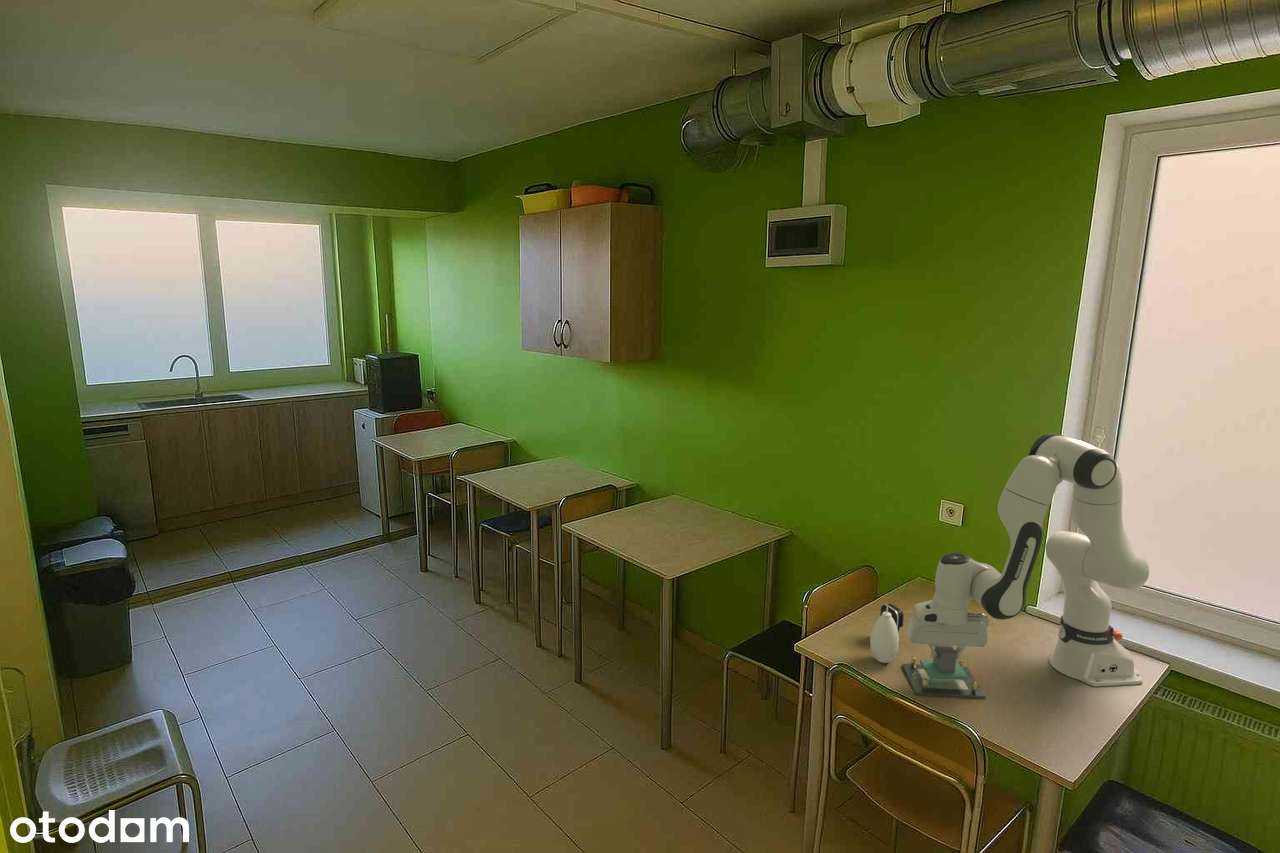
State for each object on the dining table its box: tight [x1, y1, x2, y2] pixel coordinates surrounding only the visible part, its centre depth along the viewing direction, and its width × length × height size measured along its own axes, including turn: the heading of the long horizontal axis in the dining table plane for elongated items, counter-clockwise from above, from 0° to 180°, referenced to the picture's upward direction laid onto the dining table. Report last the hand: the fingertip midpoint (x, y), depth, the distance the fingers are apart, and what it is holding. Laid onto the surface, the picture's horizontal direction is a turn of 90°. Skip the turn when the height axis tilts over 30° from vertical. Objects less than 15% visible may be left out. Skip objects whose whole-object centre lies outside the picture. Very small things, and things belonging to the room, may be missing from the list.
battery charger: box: [879, 603, 904, 633], centre depth 214 cm, size 7×4×11 cm, turn 21°
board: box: [919, 645, 968, 680], centre depth 192 cm, size 10×8×7 cm
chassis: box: [901, 655, 987, 700], centre depth 193 cm, size 18×14×4 cm
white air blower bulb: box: [869, 605, 900, 664], centre depth 202 cm, size 8×8×18 cm
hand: (944, 657), depth 192 cm, fingers closed on board, 4 cm apart
